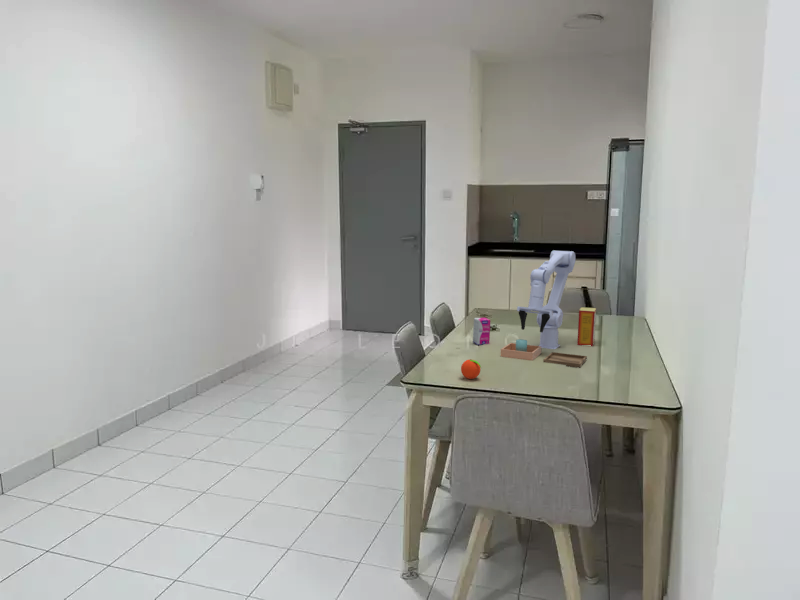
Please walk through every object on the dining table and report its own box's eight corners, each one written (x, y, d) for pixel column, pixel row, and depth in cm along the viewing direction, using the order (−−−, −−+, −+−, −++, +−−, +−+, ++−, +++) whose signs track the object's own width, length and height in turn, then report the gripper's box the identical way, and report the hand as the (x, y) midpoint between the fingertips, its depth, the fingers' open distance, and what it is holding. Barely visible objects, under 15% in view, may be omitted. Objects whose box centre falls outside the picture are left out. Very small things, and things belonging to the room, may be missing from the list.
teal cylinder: (517, 353, 253) (517, 338, 252) (528, 354, 251) (528, 340, 250) (514, 355, 249) (514, 341, 248) (524, 356, 247) (525, 342, 246)
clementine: (486, 379, 217) (487, 359, 216) (475, 383, 212) (475, 363, 211) (468, 374, 222) (468, 355, 221) (456, 378, 217) (457, 359, 216)
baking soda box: (579, 340, 279) (581, 306, 277) (594, 342, 277) (596, 307, 275) (577, 345, 271) (579, 309, 268) (592, 346, 268) (594, 310, 266)
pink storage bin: (510, 350, 259) (510, 342, 258) (541, 354, 253) (541, 346, 252) (500, 357, 247) (500, 349, 247) (532, 361, 241) (532, 353, 241)
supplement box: (477, 345, 268) (478, 320, 266) (472, 342, 274) (473, 317, 272) (489, 345, 269) (490, 319, 268) (484, 342, 275) (485, 317, 273)
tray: (551, 355, 251) (552, 352, 251) (586, 359, 245) (586, 356, 245) (543, 363, 239) (543, 359, 239) (579, 367, 233) (579, 364, 232)
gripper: (517, 294, 250) (512, 327, 249) (552, 298, 243) (547, 332, 243) (521, 297, 256) (516, 328, 255) (556, 301, 250) (551, 333, 249)
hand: (531, 330), depth 249 cm, fingers open, 7 cm apart
